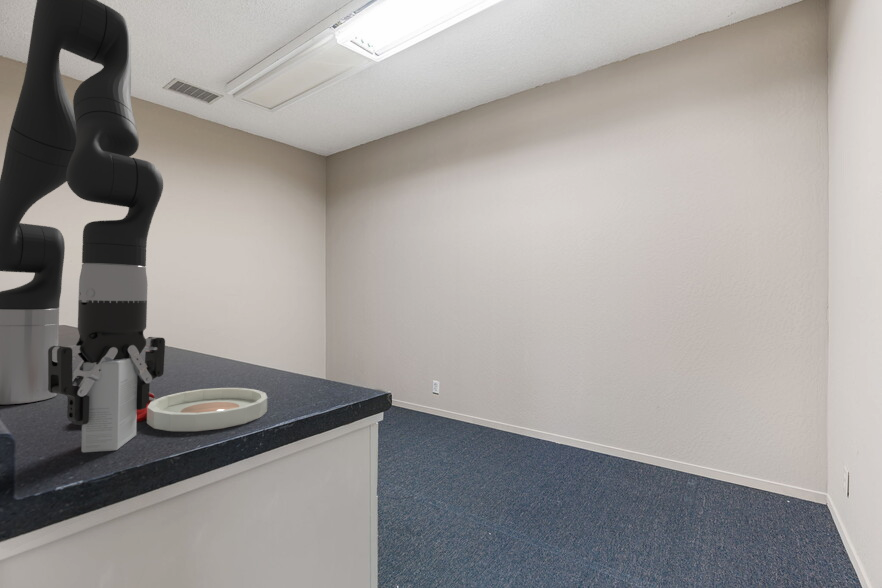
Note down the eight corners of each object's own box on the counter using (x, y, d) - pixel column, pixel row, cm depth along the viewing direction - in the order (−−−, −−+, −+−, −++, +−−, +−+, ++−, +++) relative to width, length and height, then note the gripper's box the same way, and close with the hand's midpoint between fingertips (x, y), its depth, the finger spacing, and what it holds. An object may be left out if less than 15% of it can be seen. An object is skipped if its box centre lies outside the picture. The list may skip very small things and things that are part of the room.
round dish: (120, 422, 67) (121, 406, 67) (212, 397, 84) (213, 384, 84) (207, 437, 62) (208, 420, 62) (287, 407, 79) (287, 393, 79)
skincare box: (102, 437, 60) (105, 355, 60) (136, 435, 61) (139, 355, 61) (78, 453, 54) (81, 362, 54) (116, 451, 56) (119, 361, 56)
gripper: (144, 297, 66) (141, 401, 66) (32, 296, 52) (29, 428, 52) (180, 298, 64) (177, 406, 64) (73, 298, 50) (69, 435, 50)
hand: (110, 415), depth 58 cm, fingers closed on skincare box, 7 cm apart
